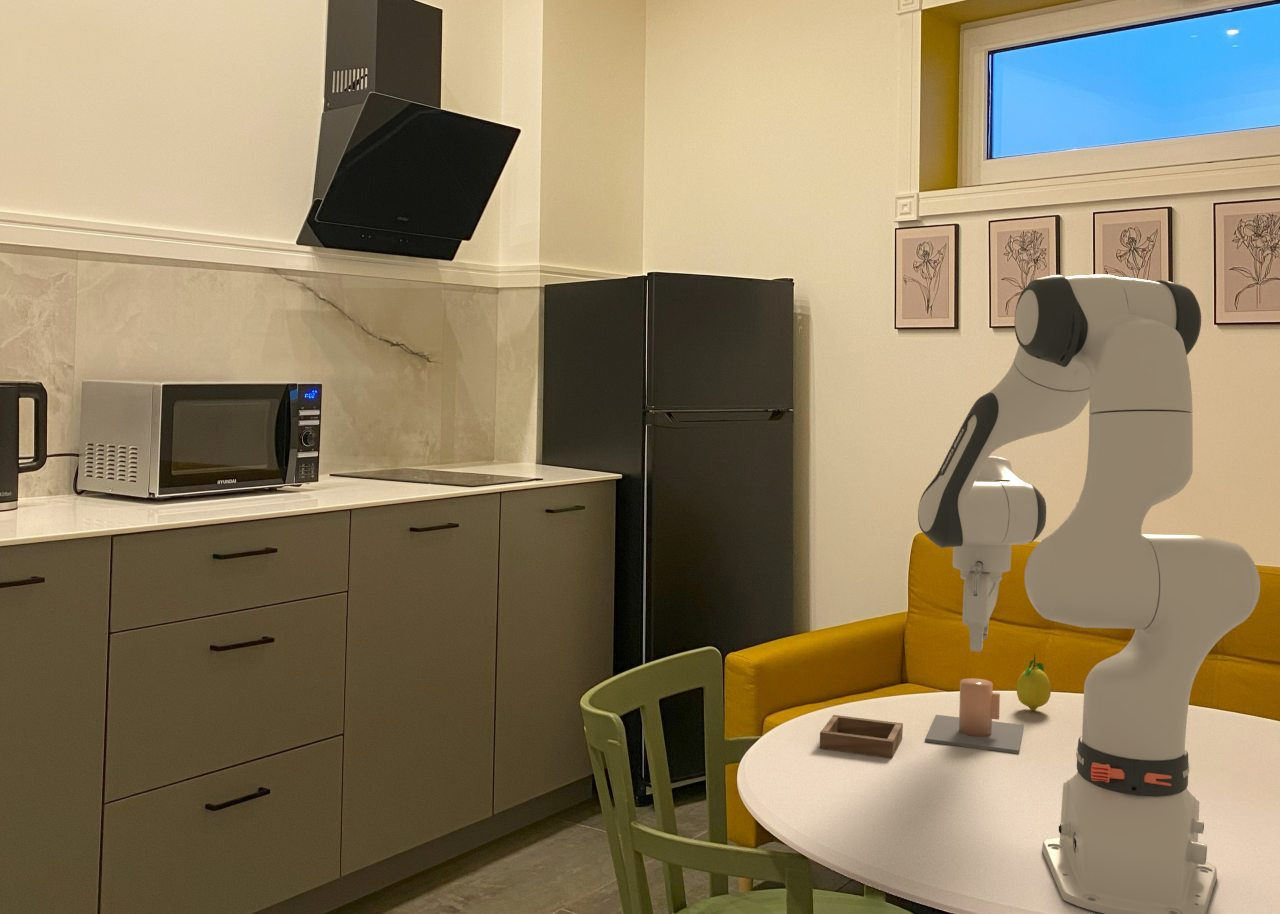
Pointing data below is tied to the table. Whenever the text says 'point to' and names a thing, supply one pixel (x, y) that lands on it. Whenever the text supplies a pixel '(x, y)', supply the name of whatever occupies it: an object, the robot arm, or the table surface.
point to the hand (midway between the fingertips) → (978, 644)
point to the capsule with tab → (977, 707)
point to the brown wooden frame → (847, 731)
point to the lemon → (1033, 686)
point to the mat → (1000, 740)
